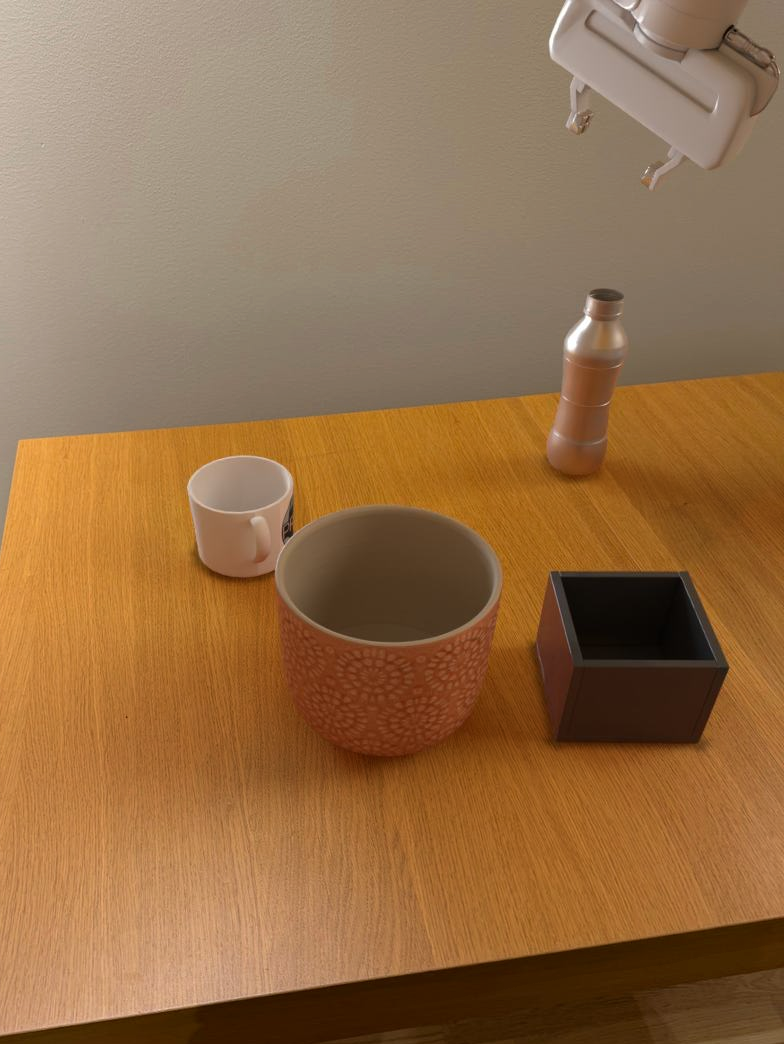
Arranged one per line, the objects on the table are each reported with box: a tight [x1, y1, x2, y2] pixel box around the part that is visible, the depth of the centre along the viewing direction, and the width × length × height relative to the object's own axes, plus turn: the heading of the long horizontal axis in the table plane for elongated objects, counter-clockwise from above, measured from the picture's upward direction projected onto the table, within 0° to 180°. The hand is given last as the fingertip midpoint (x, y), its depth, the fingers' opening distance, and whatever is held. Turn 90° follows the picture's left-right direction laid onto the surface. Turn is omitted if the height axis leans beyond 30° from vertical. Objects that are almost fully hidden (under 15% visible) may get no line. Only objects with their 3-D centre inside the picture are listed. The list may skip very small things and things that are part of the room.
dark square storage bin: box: [534, 570, 731, 744], centre depth 77 cm, size 12×12×9 cm
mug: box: [186, 455, 295, 579], centre depth 92 cm, size 13×10×8 cm
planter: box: [274, 504, 504, 757], centre depth 74 cm, size 17×17×15 cm
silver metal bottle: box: [546, 287, 629, 476], centre depth 99 cm, size 6×7×20 cm
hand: (612, 157), depth 87 cm, fingers open, 8 cm apart
